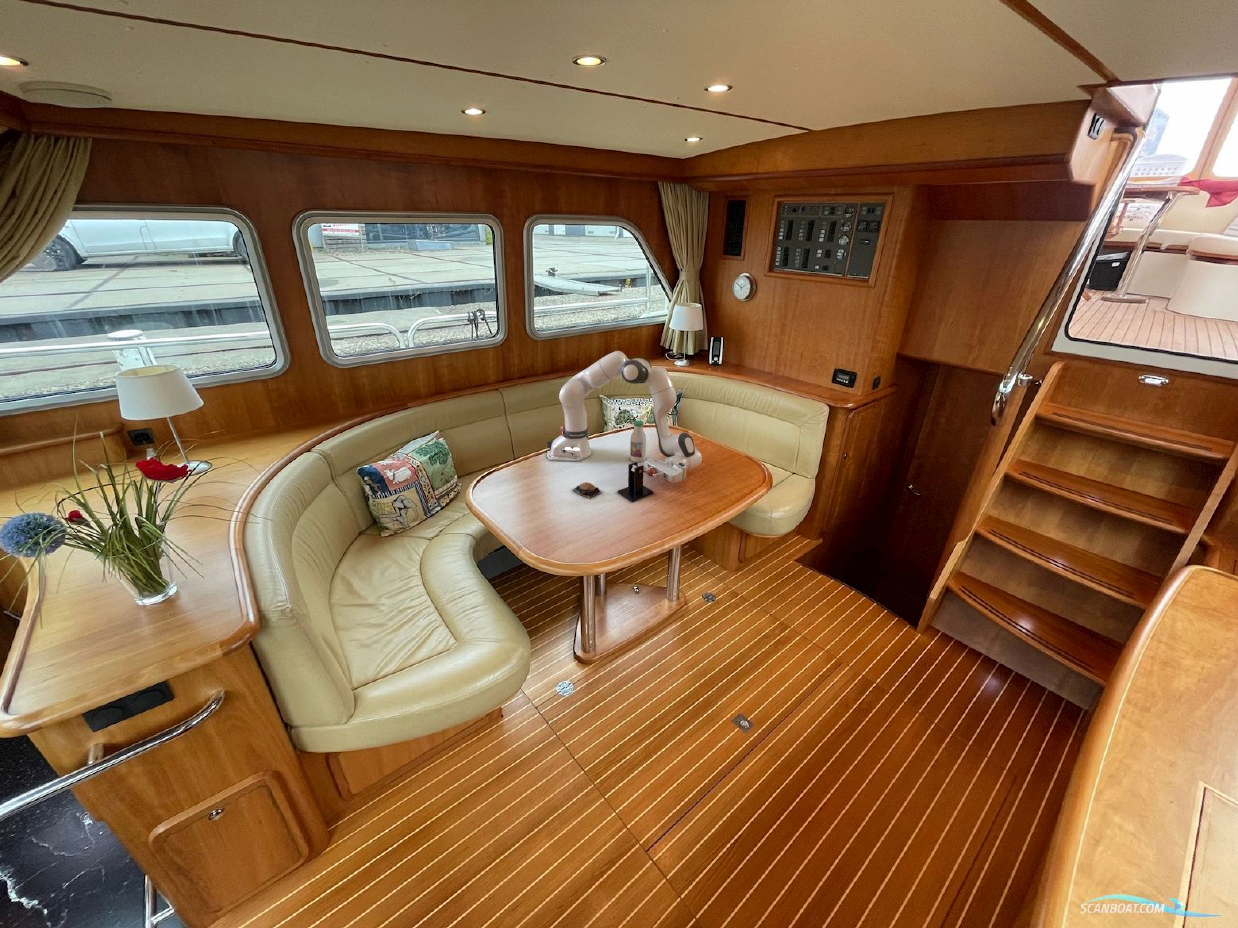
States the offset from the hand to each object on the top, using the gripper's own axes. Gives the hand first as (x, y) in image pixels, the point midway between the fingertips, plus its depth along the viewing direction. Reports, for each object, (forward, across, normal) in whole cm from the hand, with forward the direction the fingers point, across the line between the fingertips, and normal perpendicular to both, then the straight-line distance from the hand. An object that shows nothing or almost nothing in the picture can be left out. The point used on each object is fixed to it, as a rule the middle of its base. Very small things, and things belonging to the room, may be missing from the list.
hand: (649, 474), depth 210 cm
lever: (+4, 0, -1) cm, 4 cm away
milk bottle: (-15, -26, +7) cm, 31 cm away
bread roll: (+24, -14, +7) cm, 29 cm away
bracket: (+8, 0, +7) cm, 10 cm away
